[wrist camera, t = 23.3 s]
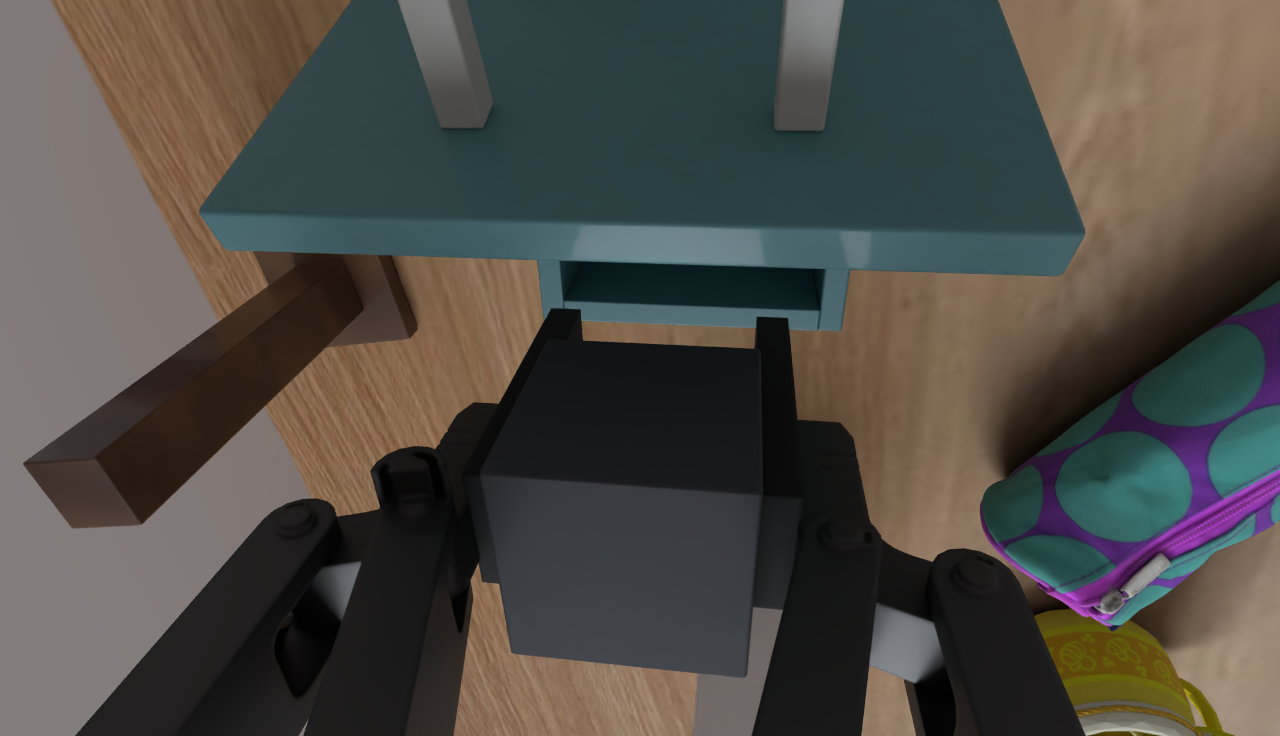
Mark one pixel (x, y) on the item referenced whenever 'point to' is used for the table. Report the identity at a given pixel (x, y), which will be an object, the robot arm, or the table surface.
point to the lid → (661, 138)
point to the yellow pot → (1122, 679)
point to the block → (631, 505)
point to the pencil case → (1152, 475)
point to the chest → (695, 293)
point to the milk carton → (737, 685)
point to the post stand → (217, 385)
